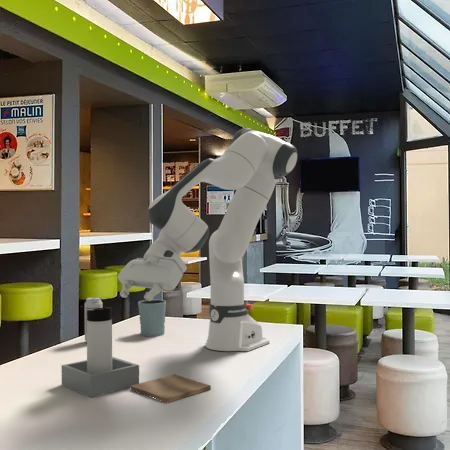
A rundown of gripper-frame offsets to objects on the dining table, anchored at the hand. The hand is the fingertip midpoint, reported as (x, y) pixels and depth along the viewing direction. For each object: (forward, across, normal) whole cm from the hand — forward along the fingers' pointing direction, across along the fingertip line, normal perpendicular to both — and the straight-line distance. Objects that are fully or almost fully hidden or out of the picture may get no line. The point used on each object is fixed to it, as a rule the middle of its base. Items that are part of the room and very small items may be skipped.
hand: (134, 297), depth 149 cm
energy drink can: (+2, -41, +28) cm, 50 cm away
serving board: (+17, +17, +12) cm, 27 cm away
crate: (+23, 0, +7) cm, 24 cm away
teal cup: (-14, -34, +44) cm, 57 cm away
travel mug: (+23, 0, +7) cm, 24 cm away
